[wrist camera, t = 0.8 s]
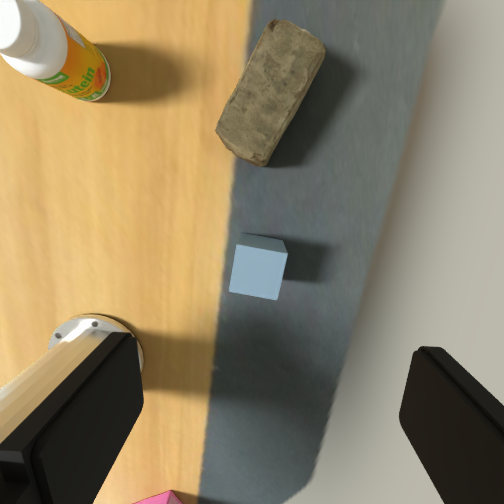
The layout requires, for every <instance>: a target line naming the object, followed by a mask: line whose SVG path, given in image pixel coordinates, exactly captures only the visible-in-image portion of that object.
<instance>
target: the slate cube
mask: <svg viewBox="0 0 504 504" xmlns="http://www.w3.org/2000/svg"><path fill="white" fill-rule="evenodd" d="M287 255H288V253H287V250H286V248H285V245H284V242H283V240H279V239H273V238H268V237H263V236H257V235H252V234H246V233H241V235H240V237H239V240H238V242H237V246H236V252H235V258H234V263H233V269H232V275H231V281H230V287H229V292H234V293H240V294H245V295H251V296H256V297H262V298H267V299H273V300H277V299H278V294H279V290H280V286H281V281H282V277H283V272H284V268H285V264H286V259H287Z"/></svg>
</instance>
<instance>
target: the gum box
mask: <svg viewBox="0 0 504 504" xmlns="http://www.w3.org/2000/svg"><path fill="white" fill-rule="evenodd" d="M134 504H182V502H181V501H180V500H179V499H178V498H177V497H176V496H175V495H174V493H173V492H172V491H171V490H169V491H167V492H165V493H162V494H159V495H157V496H153V497H150V498H147V499H144V500H142V501H140V502H137V503H134Z"/></svg>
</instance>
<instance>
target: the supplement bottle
mask: <svg viewBox="0 0 504 504" xmlns="http://www.w3.org/2000/svg"><path fill="white" fill-rule="evenodd" d="M0 54H1V55H2V57H3V58H4V59H5V60H6V61H7V62H8V63H9V64H10V65H11V66H12V67H13V68H14V69H16V70H17V71H19V72H21V73H22V74H24V75H26V76H28V77H30V78H33V79H35V80H37V81H39V82H41V83H44V84H46V85H48V86H50V87H53V88H55V89H57V90H59V91H61V92H63V93H66V94H68V95H70V96H72V97H74V98H77V99H79V100H82V101H88V102H90V101H96V100H98V99H100V98H102V97H103V96H104V95H105V94H106V92H107V90H108V88H109V86H110V81H111V72H110V67H109V64H108V62H107V60H106V58H105V57H104V55H103V54H102V52H101V51H100V50H99V49H98V48H97V47H96V46H95V45H93V44H92V43H91V42H90V41H88V40H87V39H86V38H85V37H84V36H82V35H81V34H80V33H79V32H77V31H76V30H75V29H74V28H73V27H71V26H70V25H69V24H68V23H66V22H65V21H64V20H63V19H62V18H60V17H59V16H58V15H57V14H56V13H54V12H53V11H52V10H51V9H49V8H48V7H47V6H46V5H44V4H43V3H41V2H40V1H38V0H0Z"/></svg>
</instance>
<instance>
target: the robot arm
mask: <svg viewBox="0 0 504 504" xmlns="http://www.w3.org/2000/svg"><path fill="white" fill-rule="evenodd" d="M143 363H144V358H143V352H142V349H141V346H140V344H139V342H138V341H137V339H136V337H135V336H134V335H133V334H132V333H131V331H130V330H128V329H127V328H126V327H125V326H124V325H122V324H120V323H119V322H117V321H115V320H113V319H111V318H108V317H105V316H101V315H94V314H86V315H79V316H76V317H73V318H71V319H69V320H67V321H66V322H64V323H63V324H62V325H60V326H59V327H58V328H57V329H56V330H55V331H54V332H53V334H52V336H51V338H50V341H49V346H48V351H47V352H46V353H44V354H43V355H42V356H41V357H39V358H38V359H37V360H35V361H34V362H33V363H32V364H30V365H29V366H28V367H27V368H25V369H24V370H23V371H22V372H20V373H19V374H18V375H17V376H15V377H14V378H13V379H12V380H10V381H9V382H8V383H7V384H5V385H4V386H3V387H1V388H0V504H93V502H94V500H95V498H96V496H97V494H98V492H99V490H100V489H101V487H102V485H103V483H104V481H105V479H106V477H107V475H108V473H109V471H110V470H111V468H112V466H113V464H114V462H115V460H116V458H117V456H118V454H119V453H120V451H121V449H122V447H123V445H124V443H125V441H126V439H127V437H128V435H129V434H130V432H131V430H132V428H133V426H134V424H135V422H136V420H137V418H138V417H139V415H140V413H141V411H142V408H143V403H144V397H143V389H142V380H141V372H142V369H143ZM399 420H400V424H401V426H402V428H403V430H404V432H405V434H406V436H407V437H408V439H409V441H410V443H411V445H412V446H413V448H414V450H415V452H416V454H417V455H418V457H419V459H420V461H421V463H422V464H423V466H424V468H425V470H426V471H427V473H428V475H429V477H430V479H431V480H432V482H433V484H434V486H435V488H436V489H437V491H438V493H439V495H440V497H441V499H442V500H443V502H444V504H504V406H503V405H502V404H501V403H500V402H499V401H498V400H497V399H496V398H495V397H494V396H493V395H492V394H491V393H490V392H488V391H487V389H486V388H484V387H483V386H482V385H481V384H480V383H479V382H478V381H477V380H476V379H475V378H474V377H473V376H472V375H471V374H470V373H469V372H467V371H466V370H465V369H464V368H463V367H462V366H461V365H460V364H459V363H458V362H457V361H456V360H455V359H454V358H453V357H452V356H451V355H449V354H448V353H447V352H446V351H445V350H444V349H443V348H441V347H428V346H421V347H420V348H419V349H418V351H415V352H414V353H413V356H412V361H411V365H410V370H409V373H408V378H407V382H406V386H405V391H404V395H403V399H402V404H401V408H400V412H399Z"/></svg>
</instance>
